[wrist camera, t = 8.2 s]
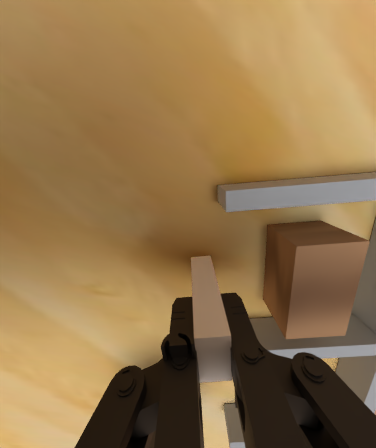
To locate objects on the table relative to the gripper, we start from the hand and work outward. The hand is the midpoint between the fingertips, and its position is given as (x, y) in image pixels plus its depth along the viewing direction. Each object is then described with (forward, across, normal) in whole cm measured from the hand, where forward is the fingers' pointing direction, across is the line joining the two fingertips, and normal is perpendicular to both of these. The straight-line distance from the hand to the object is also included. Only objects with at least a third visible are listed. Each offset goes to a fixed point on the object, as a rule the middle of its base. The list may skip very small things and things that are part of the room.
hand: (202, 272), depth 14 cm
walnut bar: (+1, +7, -1) cm, 7 cm away
